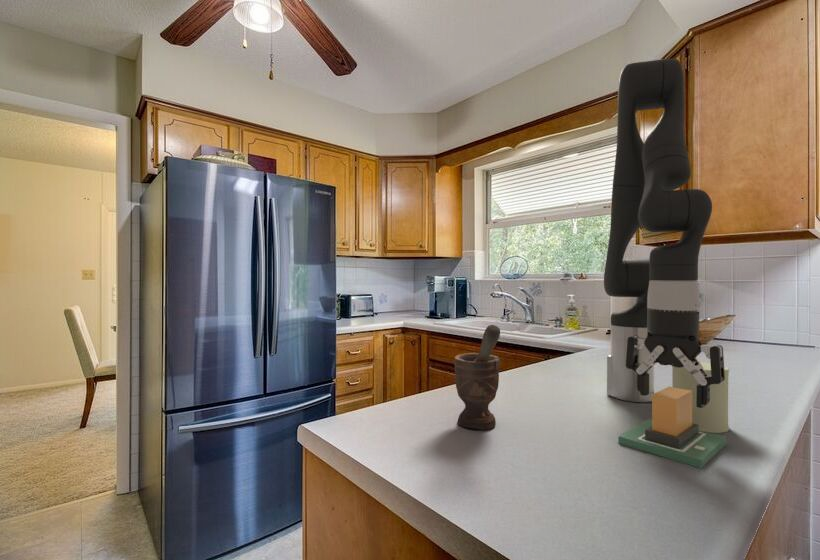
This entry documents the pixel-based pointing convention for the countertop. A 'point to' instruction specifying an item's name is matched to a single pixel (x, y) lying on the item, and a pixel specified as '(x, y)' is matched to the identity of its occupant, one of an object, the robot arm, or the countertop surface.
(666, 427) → the block
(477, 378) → the mortar and pestle
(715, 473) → the countertop surface
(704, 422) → the can
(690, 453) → the header board
